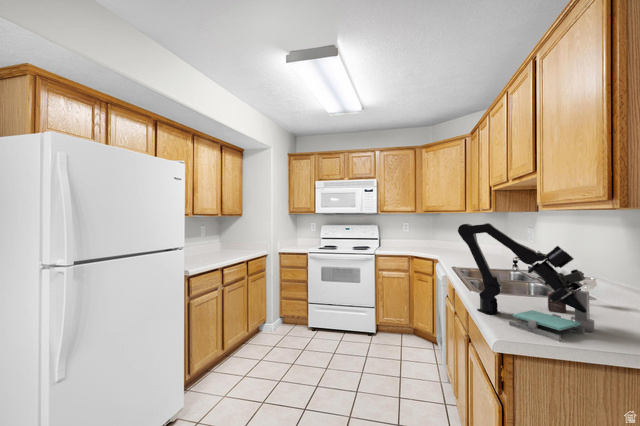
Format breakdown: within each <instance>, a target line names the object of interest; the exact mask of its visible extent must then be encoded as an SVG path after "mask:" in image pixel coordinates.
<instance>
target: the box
mask: <svg viewBox="0 0 640 426" xmlns="http://www.w3.org/2000/svg"><path fill="white" fill-rule="evenodd" d="M553 292H554V291H547V309H548V311H549V312H553V313H561V314H563V313H564V314H566V313H567V305H566V304H564V303H561V302H559V301H560V300H562V299H561V298H560V299H559V300H558V301H556V302H553V301H552V300H551V299H550V294H551V293H553Z"/></svg>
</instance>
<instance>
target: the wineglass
mask: <svg viewBox="0 0 640 426" xmlns="http://www.w3.org/2000/svg"><path fill="white" fill-rule="evenodd" d="M584 277H585V280H583V281H580V283H581V284H582V285H583V286H582V287H581V289H583V290H584V291H586V292H589V291H590V290H593V289H595V288H596V287H597V285H598V284H597V278H594V277H589V276H584ZM589 307H595V304H593V303H591V302H589Z"/></svg>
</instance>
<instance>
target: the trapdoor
mask: <svg viewBox="0 0 640 426" xmlns="http://www.w3.org/2000/svg"><path fill="white" fill-rule="evenodd" d="M512 317H513V318H517V319H518V320H519V321H522V322H529V320H530V319H531V320H534V321H538V326H539V325H540V326H543V327H546V328H550V329H554V330H557V331H563V330H566V329H567V328H571V327H575V326H579V325H580V323H579V322H576V321H572V320H571V319H567V318H563V317H561V318H560V317H557V316H553V315H552V314H549V313H546V312H545V313H544V312H542V311H537V310H533V309H532V310H527V311H524V312H518V313H513V314H512Z"/></svg>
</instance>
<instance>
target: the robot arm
mask: <svg viewBox="0 0 640 426" xmlns="http://www.w3.org/2000/svg"><path fill="white" fill-rule="evenodd" d="M457 232H458V235H459V236H460V238H461V239H462V241H464V243H465V244H466V246H468V248H469V251H470V252H471V255H472V257H473V259H474V261H475V263H476V266H477V268H478V270H479V272H480V275H481V277H482V283H483V289H482V290H481V291H480V292H479V293H478V295H479V308H476V310H477V311H478V312H481V313H483V314H486V315H495V314H501V311H498V299H497V298H496V296H499V295H500V293H501V292H502V289H503V286H502V285H503V282H502V281H501V279H500V275H499V274H496V275H495V274H494V273H493V271H492V270H491V268H490V266H489V264H488V261H487V258H486V257H485V256H484V253H483V251H482V249H481V247H480V245H479V243H478V238H477V237H478V236H477V234H487V235H488V236H490V237H492V238H493V239H495V240H496V241H498V242H499V243H500V244H501V245H503V246H505V247H506V248H507V249H509V250H510V251H512V253H513V254H514V255H515V256H516V257H517V258H518V259H519V260H520V261H521V262H522V263H523V264H526V265H528V266H527V268H528V271H527V273H528V274H533V273H534V274H537V276H539V277H540V278H541V280H542V281H543V282H544V285H545V286H549V288H551V290H552V292H553V293H551V294H550V299H551V300H552V301H553V302H556V301H558V300H559V299H560V298H561V299H562V300H560V301H559V302H561V303H564V304H566V306H568V307H570V308H573V309H574V310H575V309H577V310H579V311H581V312H583V313H585V312H587V311H586V309H585V308H584V307H583V306H582V304H581V303H580V302H579V301H578V300H577V298H576V297H575V291H577V290H580V291H582V286H583V285H582V284H581V283H580V281H583V280H585V277H586V276H585V273H584V272H582V271H581V270H578V269H577V268H576V269H572V270H570V273H567V274H564V273H563V272H558V271H557V270H556V268H560V269H562V268H563V267H565V266H566V265H568V264H569V263H570V262H572V261H573V260H574V259H575V258H574V257H573V256H572V255H571V254H569V253H568V252H567V251H565V250H564V249H563V248H561V247H560V246H558V245H557V246H555V247H553V249H552V250H550V252H547V253H542V252H541V253H540V252H537V251H536V250H534V249H533V248H530V247H528V246H527V245H524V244H521V243H518V241H516V240H515V239H513V238H512V237H510V236H508V235H507V234H505V233H504V232H502V231H501V230H499V229H498V228H496V227H495V226H494V225H493V224H492V223H489V222H487V223H484V224H483V223H482V224H475V225H473V224H470V223H463V224H461V225H459V227H458V229H457ZM536 262H537V263H536ZM540 262H541V263H540ZM529 265H532V266H529ZM552 266H553V267H552Z"/></svg>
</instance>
